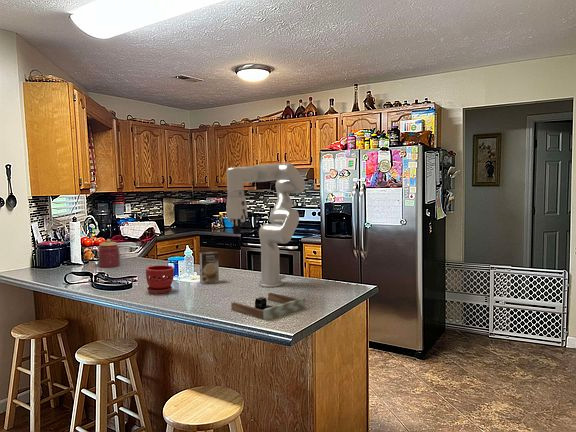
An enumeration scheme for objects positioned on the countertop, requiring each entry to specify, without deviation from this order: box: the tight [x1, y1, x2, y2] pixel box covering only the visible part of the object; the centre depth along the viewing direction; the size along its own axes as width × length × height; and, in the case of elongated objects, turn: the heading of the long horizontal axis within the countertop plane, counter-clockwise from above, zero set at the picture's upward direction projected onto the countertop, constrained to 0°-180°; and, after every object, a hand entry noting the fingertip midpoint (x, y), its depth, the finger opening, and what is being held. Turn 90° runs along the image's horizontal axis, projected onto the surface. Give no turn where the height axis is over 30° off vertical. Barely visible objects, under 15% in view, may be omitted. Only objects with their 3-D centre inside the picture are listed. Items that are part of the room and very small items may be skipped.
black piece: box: [253, 296, 274, 310], centre depth 182 cm, size 12×7×5 cm, turn 143°
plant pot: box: [145, 264, 175, 294], centre depth 210 cm, size 13×13×12 cm
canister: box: [97, 238, 121, 269], centre depth 278 cm, size 13×13×18 cm
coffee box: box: [199, 251, 220, 285], centre depth 230 cm, size 9×6×16 cm
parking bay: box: [230, 292, 306, 321], centre depth 180 cm, size 23×20×4 cm
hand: (237, 233), depth 201 cm, fingers closed
